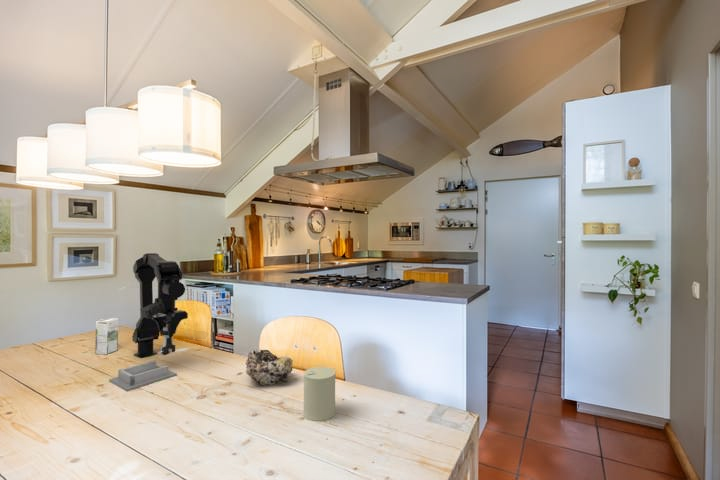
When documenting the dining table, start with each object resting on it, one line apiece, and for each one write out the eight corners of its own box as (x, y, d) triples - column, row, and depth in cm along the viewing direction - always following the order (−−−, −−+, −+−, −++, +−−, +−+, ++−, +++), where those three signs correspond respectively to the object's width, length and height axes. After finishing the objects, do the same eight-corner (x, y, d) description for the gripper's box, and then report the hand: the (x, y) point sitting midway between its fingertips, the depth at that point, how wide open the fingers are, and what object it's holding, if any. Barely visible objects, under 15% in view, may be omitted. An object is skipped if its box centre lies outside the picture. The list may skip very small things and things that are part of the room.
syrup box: (106, 349, 150) (106, 317, 150) (118, 350, 150) (118, 317, 150) (94, 354, 145) (95, 320, 145) (107, 354, 144) (107, 320, 144)
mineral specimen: (257, 370, 128) (257, 344, 128) (300, 375, 123) (300, 348, 123) (231, 387, 113) (231, 357, 113) (278, 394, 108) (279, 363, 108)
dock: (109, 381, 117) (109, 370, 117) (157, 367, 130) (157, 357, 130) (127, 391, 109) (127, 380, 109) (176, 375, 123) (177, 365, 123)
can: (299, 408, 99) (300, 367, 99) (329, 402, 103) (330, 363, 103) (307, 424, 91) (308, 379, 91) (340, 417, 94) (340, 374, 94)
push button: (163, 357, 124) (164, 330, 124) (152, 355, 126) (153, 328, 126) (178, 352, 130) (179, 326, 130) (168, 349, 132) (169, 324, 132)
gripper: (131, 295, 126) (130, 337, 126) (157, 300, 116) (157, 345, 116) (161, 292, 136) (161, 331, 135) (188, 296, 126) (188, 338, 126)
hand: (166, 336), depth 128 cm, fingers closed on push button, 5 cm apart
